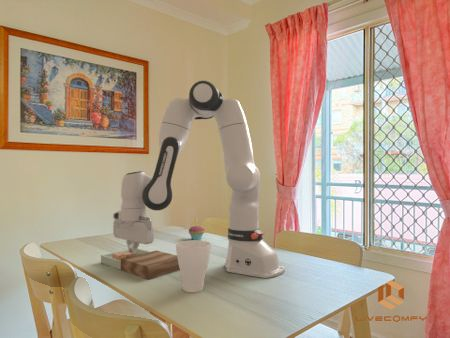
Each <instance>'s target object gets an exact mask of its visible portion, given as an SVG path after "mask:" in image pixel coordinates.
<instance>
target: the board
mask: <svg viewBox="0 0 450 338" xmlns="http://www.w3.org/2000/svg"><path fill="white" fill-rule="evenodd" d="M120 271H122V272H126V273H127V274H132V275H134V276H136V277H137V276H138V277H141V278H144V279H146V280H152V279H156V278H158V277H161V276H164V275H168V274H171V273H174V272H175V273H176V272H178V271H180V268H179V264H178V258H177V254H176V255H175V254H173V253H167V252H164V251H161V250H160V251H159V250H153V251H150V252H148V253H143V254H139V255H134V256H130V257H126V258H121V270H120Z"/></svg>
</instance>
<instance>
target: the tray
mask: <svg viewBox="0 0 450 338" xmlns="http://www.w3.org/2000/svg"><path fill="white" fill-rule="evenodd" d="M119 252H123V253H127V252H128V249H125V250H120V251H115V252H110V253H107V254H106V253H105V254H101V255H100V264H102V265H106V266H108V267H111V268H113V269H118V270H120V271H122V270H121V261H120V260H117V259H114V258H112V254H115V253H119ZM148 252H151V251H150V250H146V249H141V248H139V247H138V248H137V253H135V255H139V254H143V253H148Z"/></svg>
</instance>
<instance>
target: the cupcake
mask: <svg viewBox="0 0 450 338" xmlns="http://www.w3.org/2000/svg"><path fill="white" fill-rule="evenodd" d="M205 233H206V231H205V228H204V227H202V226H199V225H198V218H197V217H195V226H191V227H190V228H189V229H188V234H189V235H190V238H191V240H192V239H193V240H200V239H201V240H202V237H203V235H204V234H205ZM201 240H200V241H201Z"/></svg>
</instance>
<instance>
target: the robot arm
mask: <svg viewBox="0 0 450 338" xmlns="http://www.w3.org/2000/svg"><path fill="white" fill-rule="evenodd" d="M212 118H214V119H215V121H216V123H217V128H218V132H219V133H218V134H219V137H220V142H221V146H222V151H223V160H224V161H223V162H224V169H225V180H226V183H227V185H228V187H229V188H230V189H231V196H230V204H229V208H228V209H229V210H228V211H229V212H228V213H229V215H228V217H229V220H228V221H229V222H228V224H229V225H228V228H227V239H228V244H227V245H228V247H227V253H226V258H225V262H224V265H223V266H224V268H225V269H226V270H225V271H226V272H227V273H232V274H238V275H245V276H251V277H257V278H263V279H270V278H273V277H277V276H280V275H282V274H283V273H284V272H285V271H286V268H285V266H284V265H280V264H279V256H278V253H277V252H276V251H275V250H274V249H273V248H272V247H271V246H270V245H269V244H268V243H267V242H266V241H265V240H264V238H263V236H265V235H266V234H265V231H261V230H260V228H259V224H260V223H259V221H260V217H259V216H260V215H259V213H260V209H259V208H260V195H261V181H262V180H261V177H262V175H261V172H260V170H259V168H258V167H257V165H256V164H255V157H254V152H253V145H252V140H251V139H252V138H251V136H250V130H249V126H248V123H247V118H246V115H245V112H244V110H243V107H242V106H241V103H240V101H239V100H237V99H235V98H224V95H223V94H222V93H221V92H220V90H219V89H218V88H217V87H216V86H215V85H214V84H213V83H212V82H210V81H208V80H199V81H196V82H195V83H193V85H192V86H191V87H190V89H189V92H188V98H178V97H176V98H174V99H172V100H171V101H169V103H168V105H167V108H166V109H165V112H164V115H163V117H162V120H161V123H160V128H159V135H158V147H159V152H158V159H157V161H156V165H155V169H154V172H153V175H152V176H150V175H148V174H147V173H146V172H144V171H143V170H140V171H134V172H133V171H132V172H128V173H126V174H125V175H124V176H123V177H122V181H121V189H120V196H121V197H120V198H121V205H120V210H118V211H116V212H114V213H112V218H113V224H112V225H113V226H112V227H113V228H112V230H113V232H112V233H113V236H114V237H115V239H121V240H125V243H126V245H127V247H128V248H127V250H128V252H129V253H133V254H135V253H137V248H138V249H139V245H140V244H143V245H150V244H153V242H154V240H155V239H154V238H155V237H154V235H155V233H154V226H153V221H152V220H151V219H150V218H149V217H147V216H146V213H147V212H146V211H147V210H146V208H148V209H149V210H152V211H162V210H165V209H166V208H168V207H169V205H170V204H171V203H172V199H173V191H172V190H173V189H172V185H171V183H172V178H173V174H174V171H175V167H176V166H175V165H176V162H177V159H178V157H179V155H180V154H181V152H182V151H183V149H184V147H185V145H186V144H187V143H186V142H187V141H188V139H189V136H190V131H191V128H192V124H193V122H194V120H210V119H212Z"/></svg>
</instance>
